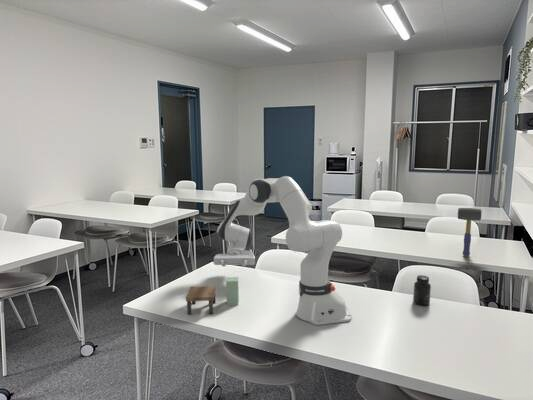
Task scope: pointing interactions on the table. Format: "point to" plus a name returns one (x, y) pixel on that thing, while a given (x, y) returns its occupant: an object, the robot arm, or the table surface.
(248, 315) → the table surface
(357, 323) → the table surface
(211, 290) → the peg shelf
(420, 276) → the supplement bottle
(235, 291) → the green block
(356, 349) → the table surface
